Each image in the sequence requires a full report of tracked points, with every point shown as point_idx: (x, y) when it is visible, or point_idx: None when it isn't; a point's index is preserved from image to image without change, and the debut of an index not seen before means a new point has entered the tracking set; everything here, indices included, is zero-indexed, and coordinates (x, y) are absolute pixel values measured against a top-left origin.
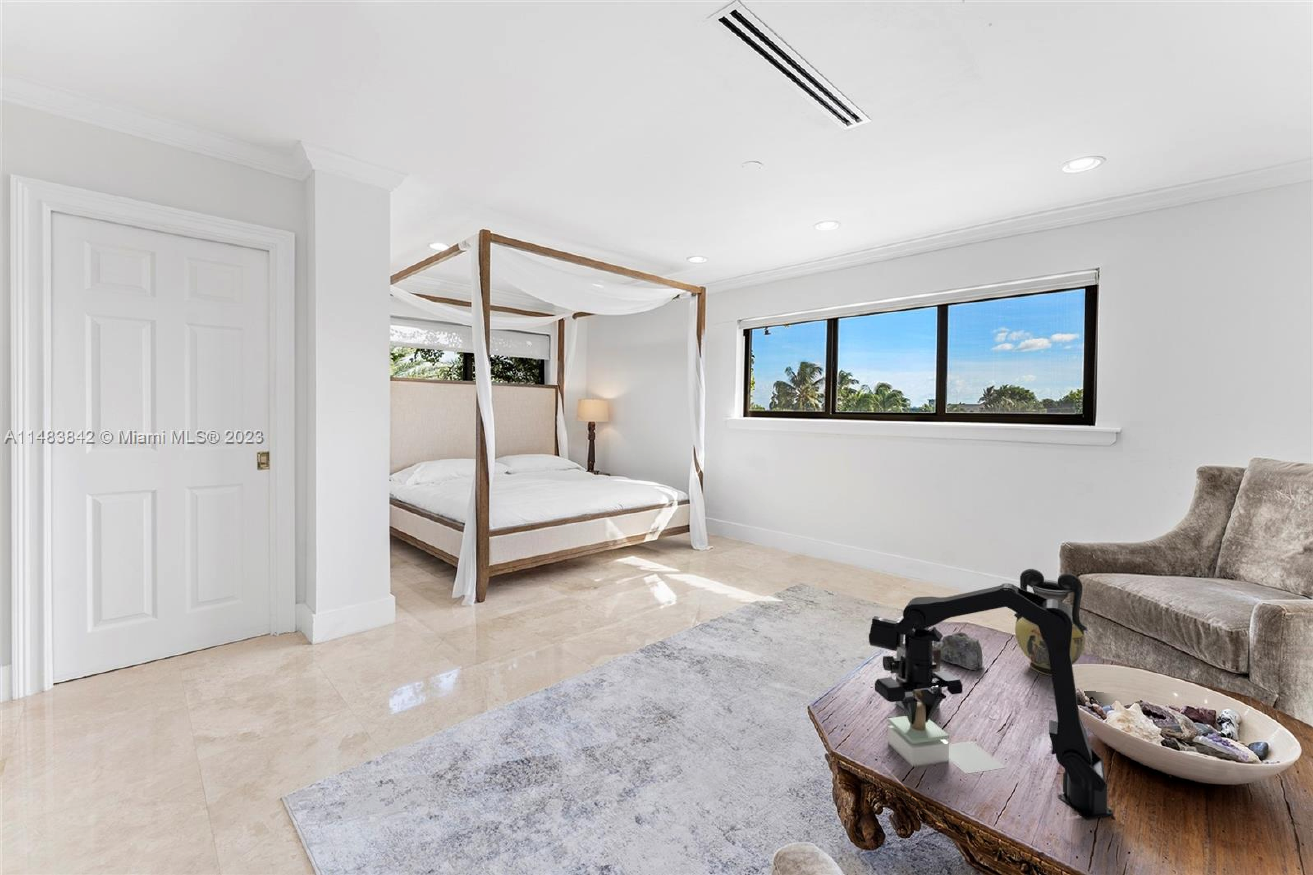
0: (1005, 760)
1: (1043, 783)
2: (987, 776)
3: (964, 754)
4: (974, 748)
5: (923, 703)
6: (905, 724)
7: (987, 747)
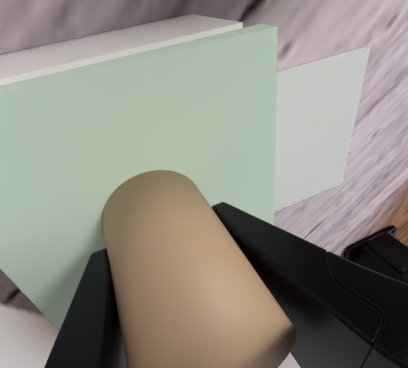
0: (369, 141)
1: (363, 211)
2: (279, 215)
3: (289, 137)
4: (342, 99)
5: (305, 305)
6: (66, 205)
7: (382, 76)
